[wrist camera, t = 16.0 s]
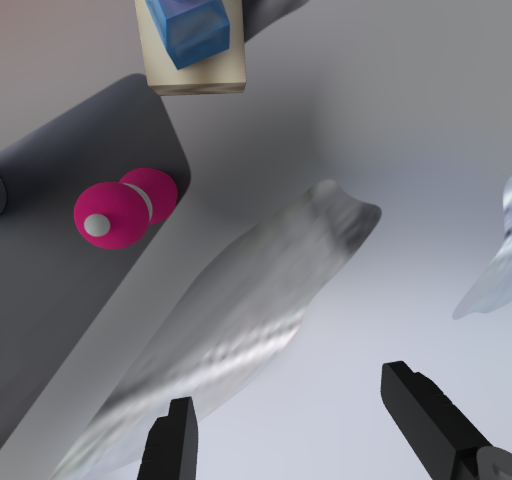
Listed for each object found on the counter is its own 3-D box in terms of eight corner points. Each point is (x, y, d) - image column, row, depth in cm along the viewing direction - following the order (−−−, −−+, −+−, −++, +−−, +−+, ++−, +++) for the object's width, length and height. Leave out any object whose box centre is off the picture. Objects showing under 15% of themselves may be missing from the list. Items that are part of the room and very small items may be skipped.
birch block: (160, 96, 36) (148, 85, 31) (145, -7, 33) (128, -40, 27) (243, 92, 37) (246, 82, 32) (237, -8, 34) (239, -40, 28)
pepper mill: (173, 160, 39) (123, 169, 20) (187, 210, 41) (154, 261, 22) (121, 171, 38) (21, 190, 19) (139, 220, 41) (63, 281, 22)
